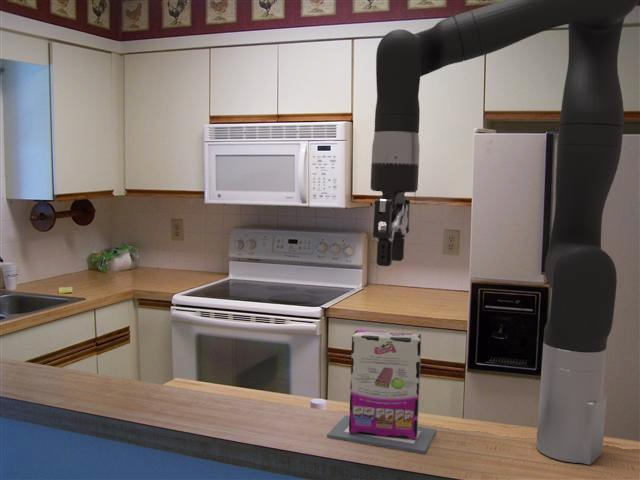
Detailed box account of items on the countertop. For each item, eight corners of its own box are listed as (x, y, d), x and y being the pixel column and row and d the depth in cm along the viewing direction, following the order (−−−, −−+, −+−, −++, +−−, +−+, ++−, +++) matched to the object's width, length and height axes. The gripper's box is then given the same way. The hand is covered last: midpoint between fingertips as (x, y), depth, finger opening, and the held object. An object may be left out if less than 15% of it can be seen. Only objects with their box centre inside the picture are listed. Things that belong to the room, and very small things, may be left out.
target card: (436, 432, 114) (436, 428, 114) (425, 454, 105) (425, 450, 104) (345, 417, 119) (345, 414, 119) (326, 437, 110) (327, 433, 110)
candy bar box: (417, 429, 113) (422, 332, 112) (416, 440, 108) (422, 339, 107) (351, 423, 115) (355, 327, 114) (347, 433, 110) (351, 334, 109)
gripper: (408, 160, 100) (403, 269, 101) (426, 164, 113) (422, 260, 115) (359, 159, 103) (355, 266, 104) (383, 162, 116) (379, 257, 117)
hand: (390, 262), depth 109 cm, fingers open, 8 cm apart
